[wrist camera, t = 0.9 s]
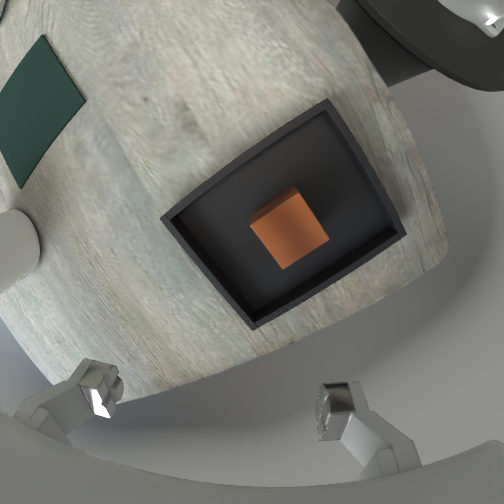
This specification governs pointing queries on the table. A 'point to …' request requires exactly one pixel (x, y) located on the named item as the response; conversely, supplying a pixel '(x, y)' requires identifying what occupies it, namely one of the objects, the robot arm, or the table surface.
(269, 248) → the block
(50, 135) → the mat
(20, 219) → the cup
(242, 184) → the baking pan
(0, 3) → the pan
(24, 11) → the table surface
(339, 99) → the table surface
